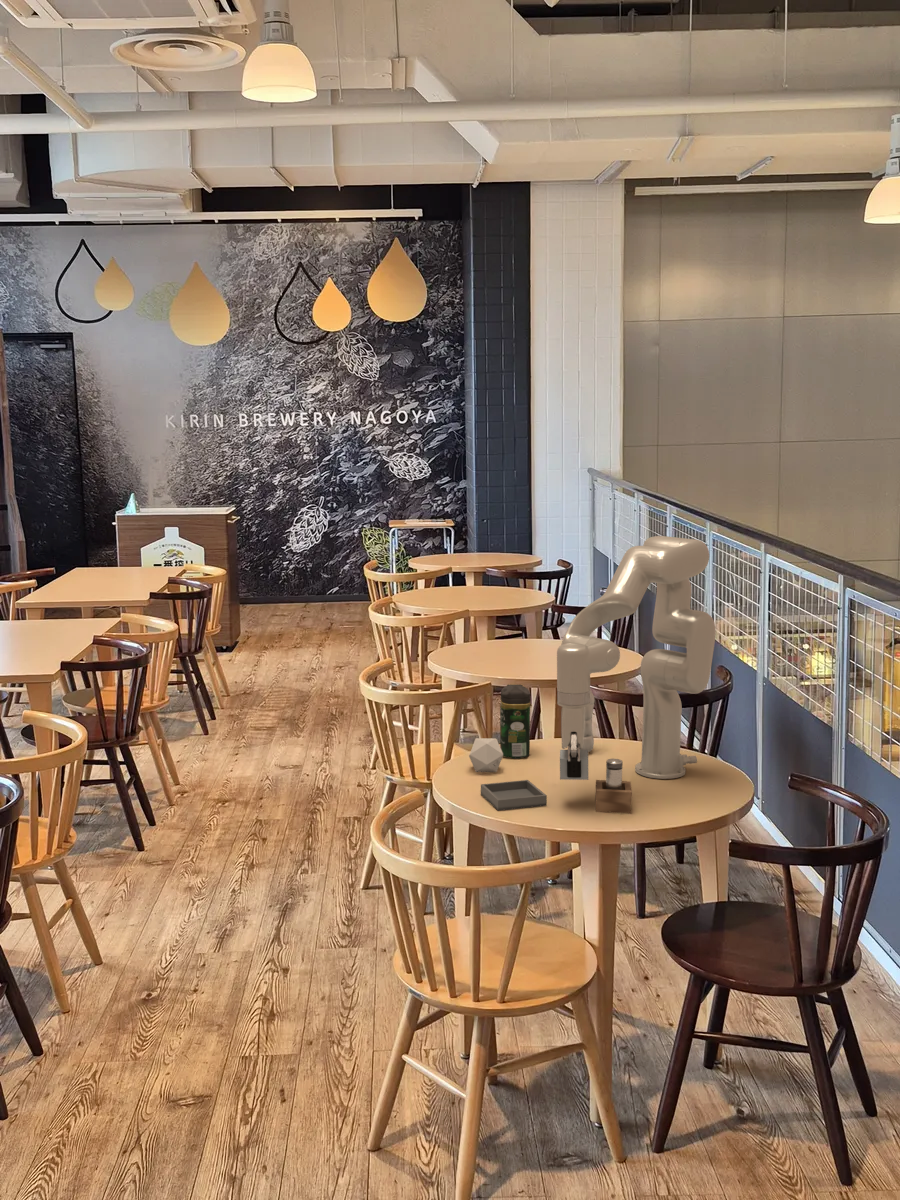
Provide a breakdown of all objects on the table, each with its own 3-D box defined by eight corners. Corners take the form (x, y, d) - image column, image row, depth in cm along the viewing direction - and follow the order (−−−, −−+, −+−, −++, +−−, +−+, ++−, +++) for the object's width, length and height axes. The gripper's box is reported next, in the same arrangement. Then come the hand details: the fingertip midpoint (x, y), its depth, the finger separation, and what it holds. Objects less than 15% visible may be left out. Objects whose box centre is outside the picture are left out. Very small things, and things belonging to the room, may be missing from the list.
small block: (588, 770, 272) (588, 749, 271) (588, 779, 265) (588, 758, 264) (560, 769, 272) (560, 749, 272) (559, 779, 266) (559, 758, 265)
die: (491, 780, 289) (512, 746, 291) (461, 761, 290) (482, 727, 291) (489, 782, 297) (510, 749, 299) (460, 763, 298) (480, 730, 300)
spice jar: (616, 803, 271) (618, 757, 269) (623, 808, 267) (625, 762, 265) (602, 804, 269) (603, 759, 268) (609, 810, 266) (610, 763, 264)
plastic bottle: (593, 756, 308) (595, 682, 305) (567, 754, 309) (569, 681, 306) (594, 749, 314) (596, 677, 311) (569, 747, 315) (571, 676, 312)
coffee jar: (498, 749, 314) (499, 682, 311) (527, 749, 314) (529, 682, 311) (500, 759, 304) (501, 690, 301) (530, 759, 304) (532, 690, 301)
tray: (527, 789, 280) (527, 779, 279) (546, 805, 268) (546, 795, 268) (480, 794, 276) (480, 784, 276) (497, 810, 265) (498, 800, 264)
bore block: (629, 801, 272) (630, 781, 271) (631, 813, 264) (631, 792, 263) (595, 800, 273) (595, 779, 272) (595, 811, 265) (596, 790, 264)
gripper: (557, 687, 274) (558, 759, 278) (556, 708, 257) (557, 784, 261) (589, 687, 273) (590, 759, 277) (590, 708, 256) (590, 785, 260)
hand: (574, 771), depth 269 cm, fingers closed on small block, 6 cm apart
